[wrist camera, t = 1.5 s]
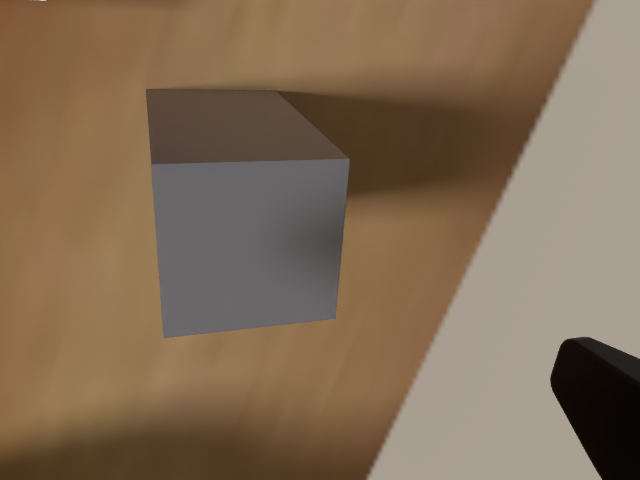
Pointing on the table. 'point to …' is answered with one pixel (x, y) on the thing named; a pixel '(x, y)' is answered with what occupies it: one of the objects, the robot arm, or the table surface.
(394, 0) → the table surface
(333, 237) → the grey rectangular block
